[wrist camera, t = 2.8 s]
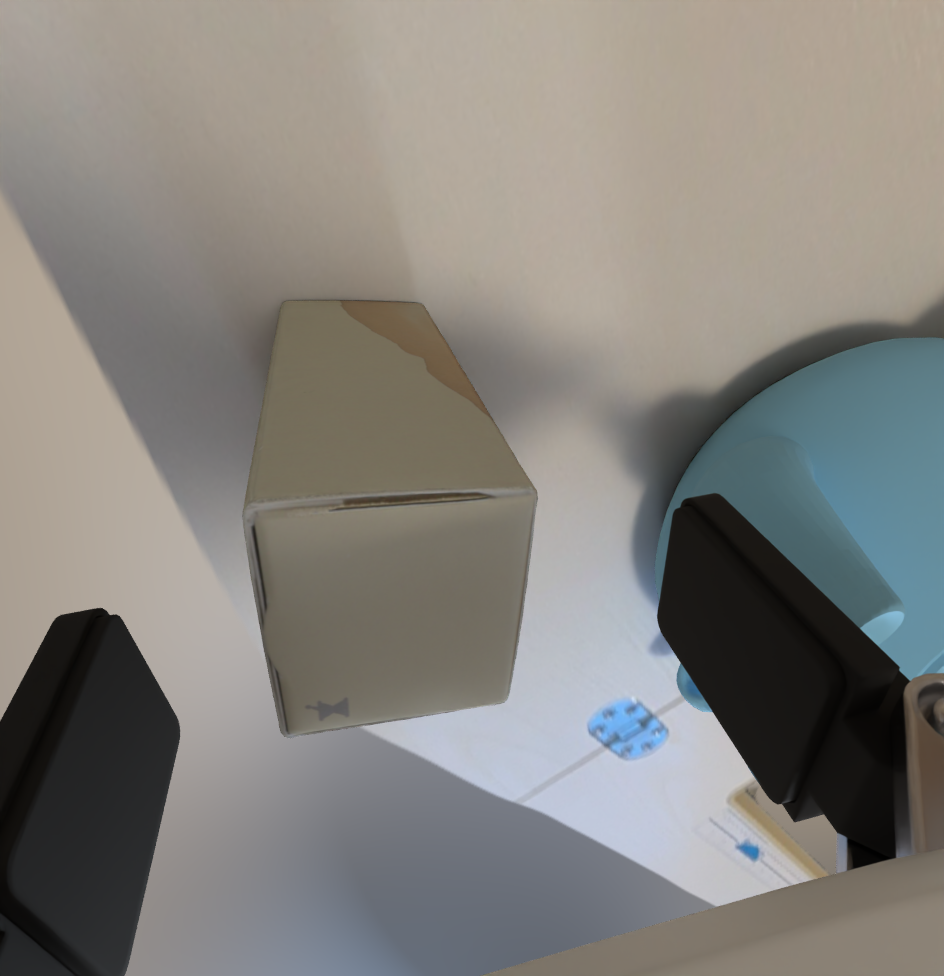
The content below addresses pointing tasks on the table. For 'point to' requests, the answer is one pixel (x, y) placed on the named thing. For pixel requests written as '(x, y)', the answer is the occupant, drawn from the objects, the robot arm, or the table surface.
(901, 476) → the teapot
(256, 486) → the box
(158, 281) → the table surface
